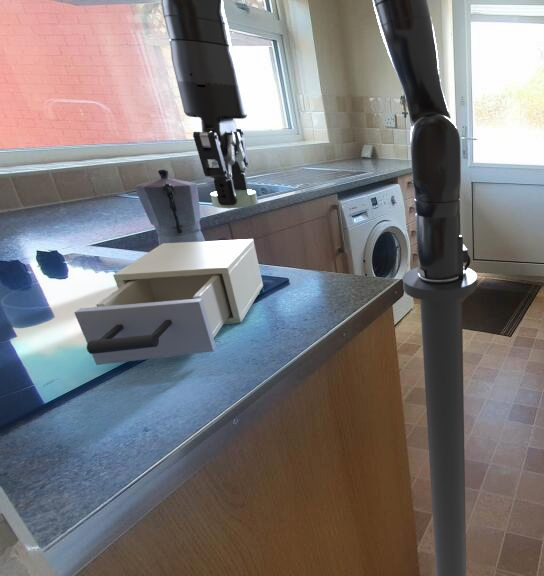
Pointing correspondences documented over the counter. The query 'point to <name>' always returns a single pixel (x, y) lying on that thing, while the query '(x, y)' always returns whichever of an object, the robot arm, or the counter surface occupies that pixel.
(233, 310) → the cabinet
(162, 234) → the moka pot
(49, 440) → the counter surface
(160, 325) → the drawer
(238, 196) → the pale green disc
